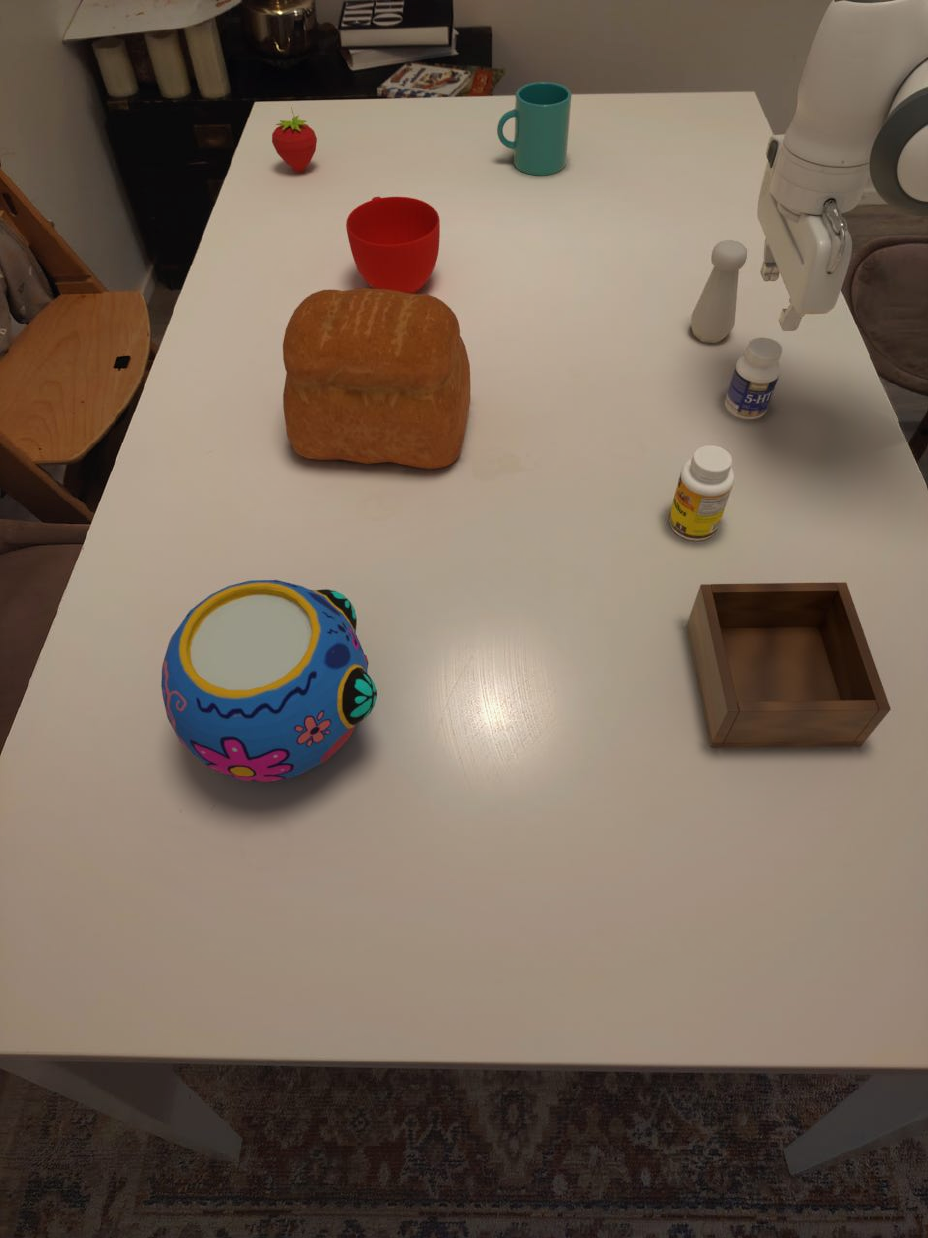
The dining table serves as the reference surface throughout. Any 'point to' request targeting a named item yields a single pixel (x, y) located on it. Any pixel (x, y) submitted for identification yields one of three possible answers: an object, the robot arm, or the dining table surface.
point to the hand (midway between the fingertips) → (777, 301)
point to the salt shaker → (719, 293)
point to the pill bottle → (754, 379)
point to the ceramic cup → (394, 242)
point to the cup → (539, 128)
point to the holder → (784, 666)
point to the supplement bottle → (702, 493)
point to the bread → (376, 378)
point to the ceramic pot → (267, 679)
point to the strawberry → (295, 143)
